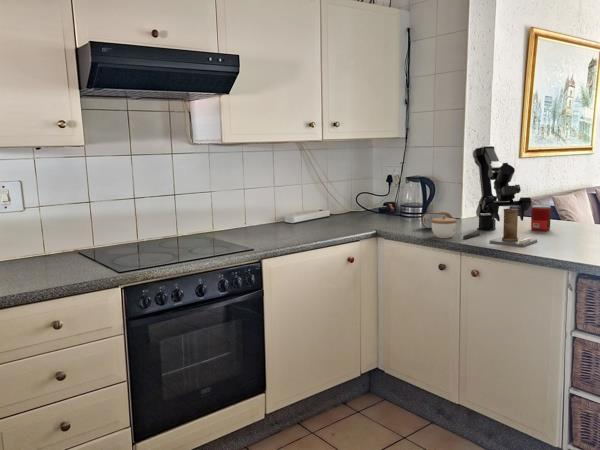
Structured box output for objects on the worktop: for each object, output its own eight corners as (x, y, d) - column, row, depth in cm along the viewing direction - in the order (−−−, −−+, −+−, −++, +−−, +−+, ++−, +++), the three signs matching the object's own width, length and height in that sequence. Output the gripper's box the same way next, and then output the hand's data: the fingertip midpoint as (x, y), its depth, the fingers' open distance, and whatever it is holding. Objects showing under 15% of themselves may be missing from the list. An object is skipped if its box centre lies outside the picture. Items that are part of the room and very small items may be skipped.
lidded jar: (427, 237, 233) (427, 216, 231) (436, 234, 242) (436, 213, 240) (451, 239, 227) (452, 218, 225) (459, 235, 236) (460, 214, 234)
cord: (465, 239, 226) (465, 235, 226) (462, 239, 227) (462, 235, 227) (480, 235, 235) (480, 231, 235) (477, 234, 237) (477, 231, 236)
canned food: (551, 231, 239) (552, 206, 237) (532, 231, 241) (533, 207, 239) (547, 228, 247) (548, 204, 245) (529, 228, 248) (530, 204, 246)
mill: (498, 239, 219) (499, 209, 217) (510, 238, 221) (511, 208, 219) (509, 242, 213) (509, 210, 211) (521, 240, 215) (522, 209, 213)
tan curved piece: (453, 229, 251) (453, 212, 250) (451, 230, 249) (451, 213, 248) (423, 227, 260) (423, 210, 259) (420, 228, 258) (420, 211, 256)
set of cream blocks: (519, 243, 210) (519, 240, 209) (527, 240, 215) (527, 237, 215) (522, 243, 209) (523, 240, 208) (530, 240, 214) (530, 237, 214)
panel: (489, 243, 217) (489, 240, 217) (503, 238, 226) (503, 235, 226) (523, 246, 207) (523, 244, 207) (537, 241, 216) (537, 239, 216)
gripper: (484, 178, 218) (491, 209, 209) (531, 177, 217) (540, 207, 208) (478, 195, 227) (485, 225, 218) (523, 194, 226) (532, 224, 217)
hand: (510, 220), depth 215 cm, fingers open, 9 cm apart
